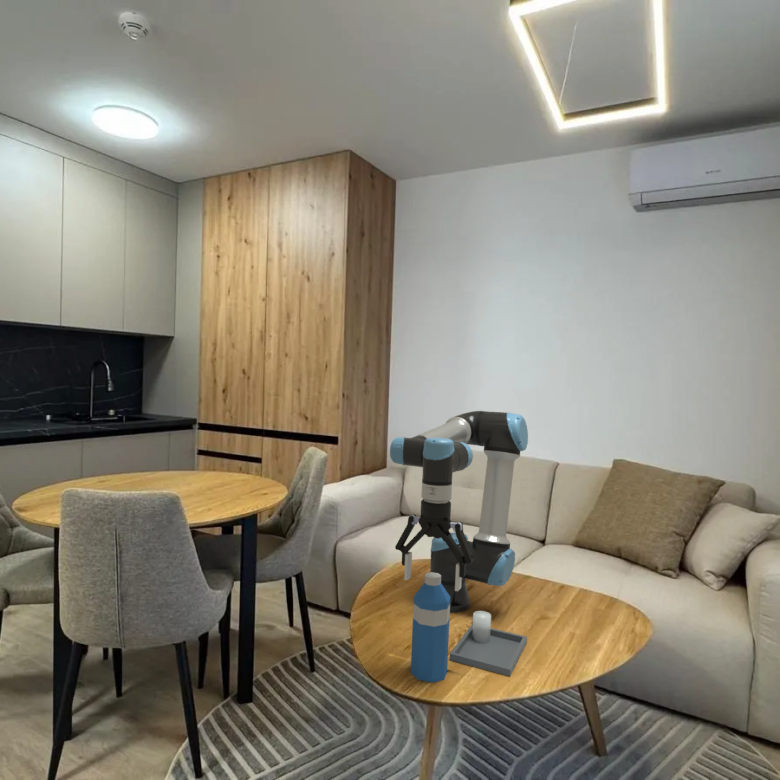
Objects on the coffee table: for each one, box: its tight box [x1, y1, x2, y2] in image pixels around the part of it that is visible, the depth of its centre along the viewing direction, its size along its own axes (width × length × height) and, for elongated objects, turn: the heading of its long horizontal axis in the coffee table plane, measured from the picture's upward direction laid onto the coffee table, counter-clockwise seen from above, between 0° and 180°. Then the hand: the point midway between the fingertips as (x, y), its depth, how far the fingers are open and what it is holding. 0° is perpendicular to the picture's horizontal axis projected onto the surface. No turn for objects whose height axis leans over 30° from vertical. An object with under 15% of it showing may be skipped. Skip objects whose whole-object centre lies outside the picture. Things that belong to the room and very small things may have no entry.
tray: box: [449, 623, 528, 677], centre depth 152 cm, size 16×20×2 cm
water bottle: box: [410, 571, 451, 684], centre depth 141 cm, size 9×9×25 cm
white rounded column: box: [472, 610, 492, 643], centre depth 158 cm, size 5×5×7 cm
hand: (432, 583), depth 140 cm, fingers open, 13 cm apart
